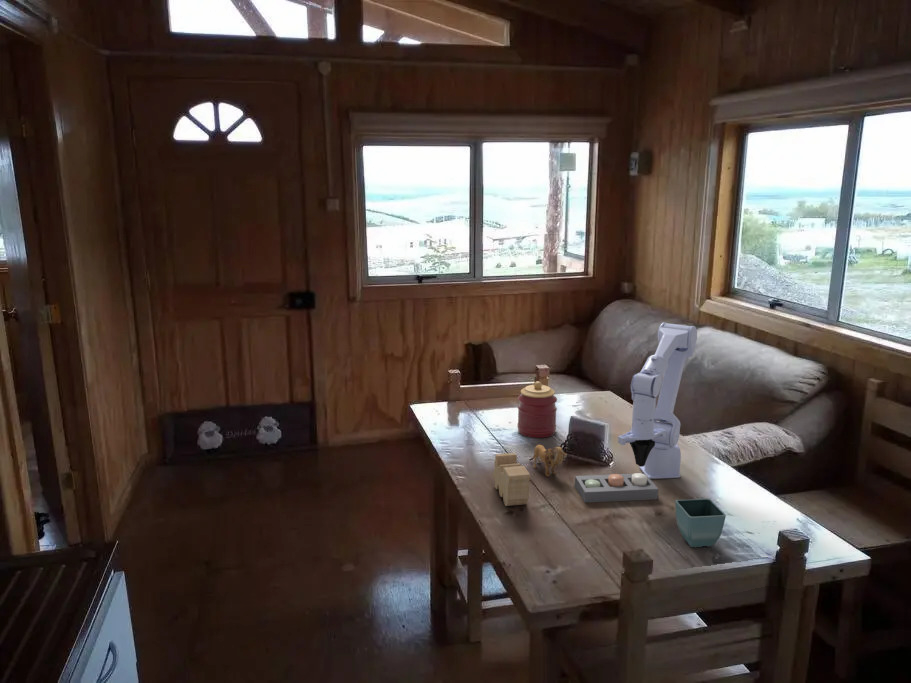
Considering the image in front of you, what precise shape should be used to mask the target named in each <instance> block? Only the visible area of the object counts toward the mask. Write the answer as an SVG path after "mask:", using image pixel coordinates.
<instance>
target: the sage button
mask: <svg viewBox="0 0 911 683" xmlns="http://www.w3.org/2000/svg"><path fill="white" fill-rule="evenodd" d="M585 487H586V488H594V487H600V482H599V481H597V480H592V479H590V480H586V481H585Z"/></svg>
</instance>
